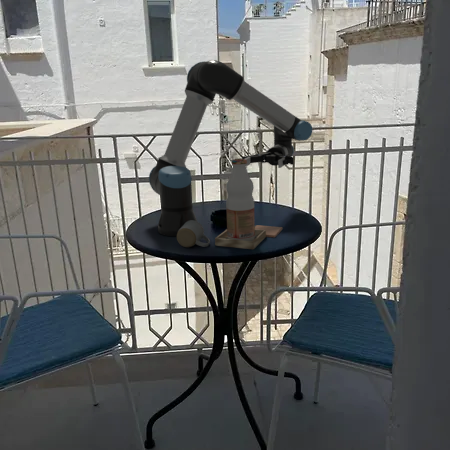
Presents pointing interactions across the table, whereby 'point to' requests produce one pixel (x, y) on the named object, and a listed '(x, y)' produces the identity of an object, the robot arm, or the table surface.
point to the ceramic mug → (192, 234)
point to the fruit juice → (240, 203)
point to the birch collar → (223, 241)
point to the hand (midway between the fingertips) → (261, 163)
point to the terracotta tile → (269, 230)
